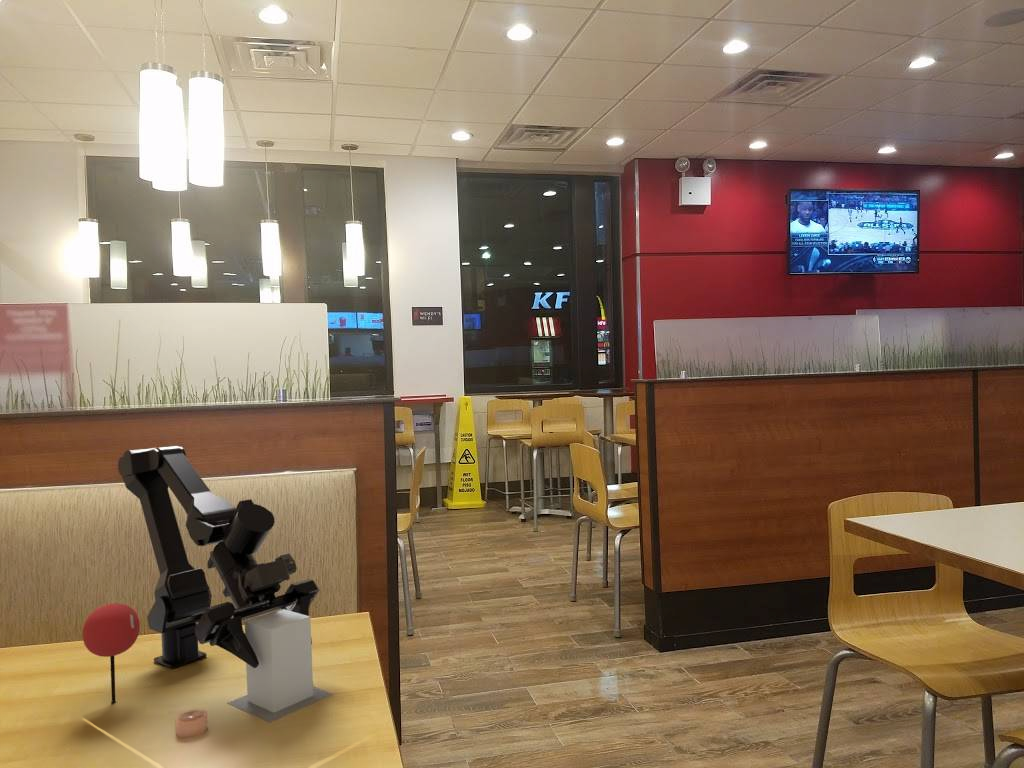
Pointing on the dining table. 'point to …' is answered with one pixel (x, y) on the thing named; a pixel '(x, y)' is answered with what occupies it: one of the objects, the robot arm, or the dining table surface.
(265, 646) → the cover
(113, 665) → the lollipop
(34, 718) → the dining table surface
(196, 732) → the bowl
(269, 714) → the mat
